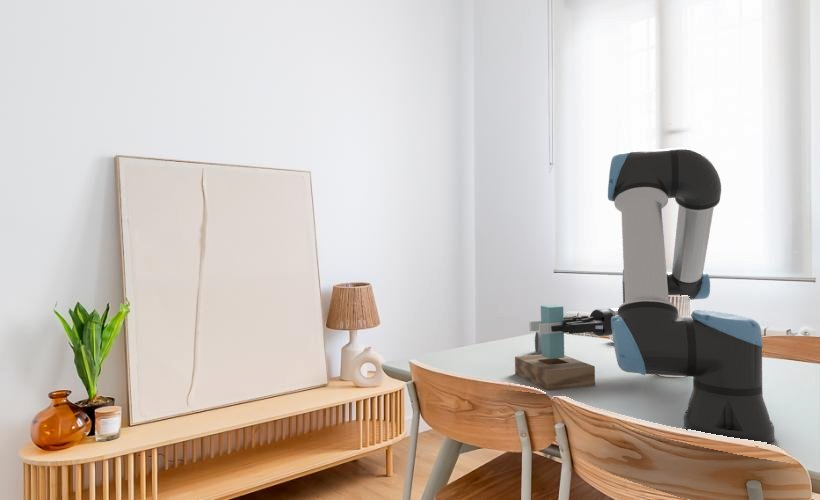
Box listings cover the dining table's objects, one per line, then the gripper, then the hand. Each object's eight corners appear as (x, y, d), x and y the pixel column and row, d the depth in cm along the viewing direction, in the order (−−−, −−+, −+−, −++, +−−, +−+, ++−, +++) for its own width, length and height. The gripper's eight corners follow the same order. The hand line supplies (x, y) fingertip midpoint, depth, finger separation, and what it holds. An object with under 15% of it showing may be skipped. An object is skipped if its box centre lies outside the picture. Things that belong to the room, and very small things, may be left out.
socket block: (595, 385, 137) (594, 366, 137) (547, 390, 133) (547, 371, 133) (558, 369, 154) (557, 352, 154) (515, 373, 150) (514, 356, 150)
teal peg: (564, 357, 142) (563, 306, 142) (550, 359, 141) (548, 307, 141) (555, 354, 146) (554, 304, 146) (541, 355, 145) (540, 305, 145)
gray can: (563, 356, 172) (562, 332, 172) (538, 356, 173) (537, 333, 173) (556, 350, 183) (555, 328, 183) (532, 350, 183) (532, 328, 183)
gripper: (629, 340, 140) (551, 347, 134) (590, 330, 157) (520, 335, 151) (628, 312, 140) (551, 318, 134) (589, 305, 157) (519, 310, 150)
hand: (534, 327), depth 142 cm, fingers closed on teal peg, 4 cm apart
